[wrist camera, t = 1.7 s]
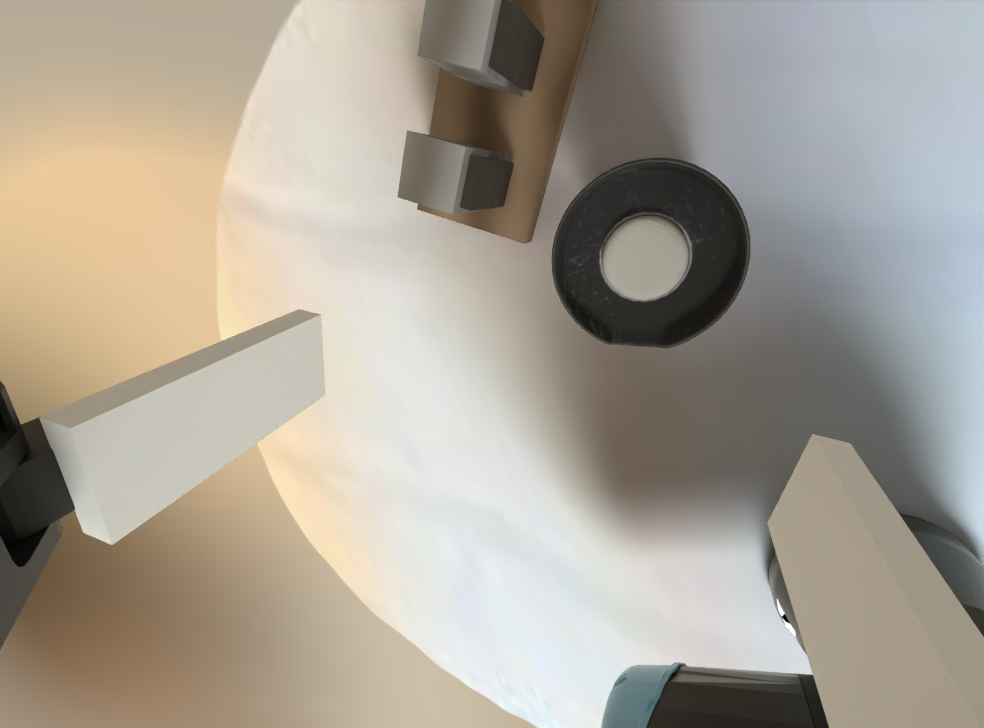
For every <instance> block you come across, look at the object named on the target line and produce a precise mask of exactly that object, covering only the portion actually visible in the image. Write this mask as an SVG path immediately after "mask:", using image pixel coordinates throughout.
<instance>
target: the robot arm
mask: <svg viewBox="0 0 984 728" xmlns="http://www.w3.org/2000/svg"><path fill="white" fill-rule="evenodd" d="M324 395H325V379H324V362H323V344H322V327H321V315H320V314H316V313H312V312H308V311H304V310H300V309H299V310H296V311H294V312H291V313H289V314H286V315H284V316H282V317H279V318H277V319H274V320H272V321H269V322H267V323H265V324H262V325H260V326H257V327H255V328H253V329H250V330H248V331H245V332H243V333H240V334H238V335H236V336H233V337H231V338H228V339H226V340H223V341H221V342H219V343H216V344H214V345H212V346H209V347H206V348H204V349H202V350H199V351H197V352H195V353H192V354H190V355H188V356H185V357H182V358H180V359H177V360H175V361H173V362H170V363H168V364H165V365H163V366H161V367H158V368H156V369H153V370H151V371H148V372H146V373H143V374H141V375H139V376H136V377H134V378H131V379H129V380H127V381H124V382H122V383H119V384H117V385H114V386H112V387H110V388H107V389H105V390H102V391H100V392H97V393H95V394H93V395H90V396H88V397H85V398H83V399H81V400H78V401H76V402H73V403H71V404H68V405H66V406H64V407H61V408H59V409H56V410H54V411H51V412H49V413H47V414H44V415H42V416H39V418H37V419H34V420H32V421H29V422H27V423H24V424H22V425H20V422H19V420H18V417H17V415H16V412H15V410H14V408H13V405H12V403H11V401H10V398H9V396H8V393H7V391H6V388H5V386H4V385H3V384H2V383H1V381H0V649H1V647H2V645H3V643H4V641H5V640H6V638H7V636H8V634H9V632H10V630H11V628H12V627H13V624H14V623H15V621H16V619H17V617H18V615H19V613H20V612H21V610H22V608H23V606H24V604H25V602H26V600H27V599H28V597H29V595H30V593H31V591H32V589H33V587H34V585H35V584H36V582H37V580H38V578H39V576H40V574H41V572H42V571H43V569H44V567H45V565H46V563H47V561H48V559H49V557H50V556H51V554H52V552H53V550H54V548H55V546H56V544H57V543H58V541H59V539H60V537H61V534H62V529H63V527H62V524H61V522H60V520H59V519H60V518H62V517H63V516H65V515H67V514H68V513H70V512H72V511H73V510H75V512H76V515H77V517H78V520H79V522H80V525H81V527H82V530H83V532H84V533H86V534H88V535H90V536H92V537H95V538H97V539H99V540H102V541H104V542H106V543H108V544H111V545H113V544H114V543H116V542H117V541H118V540H120V539H121V538H123V537H124V536H125V535H127V534H128V533H130V532H131V531H133V530H134V529H135V528H137V527H138V526H140V525H141V524H143V523H144V522H145V521H147V520H148V519H150V518H151V517H152V516H154V515H155V514H157V513H158V512H159V511H161V510H162V509H164V508H165V507H167V506H168V505H170V504H171V503H172V502H174V501H175V500H177V499H178V498H179V497H181V496H182V495H184V494H185V493H187V492H188V491H189V490H191V489H192V488H194V487H195V486H197V485H198V484H199V483H201V482H202V481H204V480H205V479H206V478H208V477H209V476H211V475H212V474H214V473H215V472H216V471H218V470H219V469H221V468H222V467H224V466H225V465H226V464H228V463H229V462H230V461H232V460H233V459H235V458H236V457H238V456H239V455H241V454H242V453H243V452H245V451H246V450H248V449H249V448H251V447H252V446H253V445H255V444H256V443H258V442H259V441H260V440H262V439H263V438H265V437H266V436H268V435H269V434H270V433H272V432H273V431H275V430H276V429H278V428H279V427H280V426H282V425H283V424H285V423H286V422H287V421H289V420H290V419H292V418H293V417H295V416H296V415H297V414H299V413H300V412H302V411H303V410H305V409H306V408H307V407H309V406H310V405H312V404H313V403H314V402H316V401H317V400H319V399H320V398H322V397H323V396H324ZM767 525H768V528H769V532H770V535H771V538H772V541H773V545H774V548H775V553H774V555H773V557H772V559H771V562H770V566H769V584H770V588H771V592H772V595H773V599H774V603H775V606H776V609H777V611H778V613H779V615H780V617H781V619H782V621H783V623H784V624H785V625H786V627H787V628H788V630H789V631H790V632H791V633H792V634H793V636H794V637H795V638H796V639H797V640H798V642H799V644H800V646H801V647H802V649H803V650H804V652H805V653H806V654H807V656H808V660H809V663H810V666H811V670H812V673H813V675H805V674H791V673H776V672H762V671H747V670H733V669H719V668H705V667H690V666H687V665H686V664H685V663H674V664H672V665H671V666H669V665H637V666H633V667H630V668H628V669H626V670H625V671H624V672H623V673H622V674H621V675H620V676H619V677H618V679H617V680H616V682H615V684H614V686H613V689H612V691H611V692H610V695H609V698H608V701H607V704H606V708H605V711H604V716H603V721H602V726H601V728H984V566H983V565H982V564H981V563H980V561H979V560H978V559H977V558H976V557H975V555H974V554H973V553H972V552H971V551H970V550H969V549H968V548H967V547H966V546H965V545H964V544H963V543H962V542H961V541H960V540H958V539H957V538H956V537H954V536H953V535H951V534H950V533H948V532H947V531H945V530H943V529H941V528H939V527H937V526H935V525H933V524H931V523H928V522H926V521H923V520H920V519H917V518H913V517H910V516H906V515H901V514H899V513H898V512H897V510H896V509H895V507H894V506H893V505H892V503H891V502H890V500H889V499H888V497H887V496H886V494H885V493H884V491H883V490H882V489H881V487H880V486H879V484H878V483H877V481H876V480H875V478H874V477H873V475H872V474H871V472H870V471H869V470H868V468H867V467H866V465H865V464H864V462H863V461H862V459H861V458H860V456H859V455H858V454H857V452H856V451H855V449H854V448H853V446H852V445H851V443H848V442H844V441H839V440H835V439H831V438H827V437H823V436H819V435H815V434H812V436H811V437H810V439H809V441H808V443H807V445H806V447H805V449H804V451H803V453H802V455H801V457H800V459H799V461H798V463H797V465H796V467H795V469H794V471H793V473H792V475H791V477H790V479H789V481H788V483H787V485H786V487H785V489H784V491H783V493H782V495H781V497H780V499H779V501H778V503H777V505H776V507H775V509H774V511H773V513H772V514H771V516H770V518H769V520H768V522H767Z"/></svg>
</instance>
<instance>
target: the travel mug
mask: <svg viewBox="0 0 984 728" xmlns="http://www.w3.org/2000/svg"><path fill="white" fill-rule="evenodd" d="M749 259H750V234H749V229H748V225H747V221H746V218H745V216H744V213H743V210H742V208H741V206H740V205H739V203H738V201H737V199H736V198H735V196H734V195H733V194H732V193H731V191H730V190H729V189H728V188H727V186H725V185H724V184H723V183H722V182H721V181H720V180H719V179H718V178H717V177H715V176H714V175H712V174H711V173H709V172H708V171H706V170H704V169H702V168H700V167H698V166H696V165H694V164H691V163H687V162H684V161H681V160H675V159H668V158H649V159H641V160H636V161H632V162H628V163H625V164H622V165H620V166H617V167H615V168H612V169H611V170H609V171H607V172H605V173H603V174H602V175H600V176H599V177H597V178H596V179H594V180H593V181H592V182H590V183H589V184H588V185H587V186H586V187H585V188H584V189H583V190H582V191H581V192H579V194H578V195H577V196H576V197H575V199H574V200H573V201H572V202H571V204H570V205H569V207H568V208H567V210H566V211H565V213H564V215H563V217H562V219H561V221H560V223H559V226H558V229H557V232H556V235H555V238H554V243H553V248H552V273H553V278H554V283H555V287H556V290H557V293H558V295H559V297H560V299H561V302H562V304H563V305H564V307H565V308H566V310H567V312H568V313H569V314H570V315H571V317H572V318H573V319H574V320H575V322H577V323H578V324H579V325H580V326H581V327H582V328H583V329H584V330H585V331H587V332H588V333H589V334H590V335H592V336H593V337H595V338H596V339H598V340H600V341H602V342H604V343H606V344H610V345H613V344H619V345H631V346H648V347H660V348H671V347H674V346H677V345H680V344H682V343H684V342H687V341H688V340H690V339H692V338H694V337H696V336H698V335H699V334H701V333H702V332H704V331H705V330H707V329H708V328H709V327H711V326H712V325H713V324H714V323H715V322H716V321H718V320H719V319H720V318H721V316H722V315H723V314H724V313H725V312H726V311H727V310H728V309H729V307H730V306H731V304H732V303H733V302H734V300H735V299H736V297H737V295H738V293H739V291H740V289H741V287H742V285H743V282H744V280H745V277H746V274H747V269H748V265H749Z"/></svg>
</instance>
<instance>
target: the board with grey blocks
mask: <svg viewBox="0 0 984 728" xmlns="http://www.w3.org/2000/svg"><path fill="white" fill-rule="evenodd" d="M597 2H598V0H426V4H425V11H424V18H423V25H422V32H421V38H420V45H419V52H418V56H420V57H422V58H424V59H426V60H428V61H429V62H431V63H433V64H435V65H437V66H439V67H441V68H440V74H439V80H438V87H437V93H436V99H435V105H434V111H433V117H432V123H431V129H430V135H425V134H421V133H416V132H411V131H407V136H406V142H405V149H404V156H403V163H402V170H401V177H400V184H399V191H398V197H399V198H402V199H405V200H408V201H412V202H415V203H418V208H417V209H418V210H421V211H424V212H427V213H430V214H434V215H437V216H440V217H443V218H446V219H449V220H452V221H456V222H459V223H462V224H465V225H468V226H471V227H474V228H478V229H481V230H484V231H487V232H490V233H493V234H496V235H500V236H503V237H506V238H509V239H512V240H515V241H518V242H522V243H528V242H530V241H531V240H532V236H533V233H534V229H535V226H536V222H537V218H538V215H539V211H540V208H541V204H542V200H543V197H544V193H545V190H546V186H547V182H548V179H549V175H550V172H551V168H552V164H553V161H554V157H555V154H556V150H557V146H558V143H559V139H560V136H561V132H562V128H563V125H564V121H565V118H566V114H567V110H568V107H569V103H570V100H571V96H572V92H573V89H574V85H575V82H576V78H577V74H578V71H579V67H580V64H581V60H582V56H583V53H584V49H585V46H586V42H587V38H588V35H589V31H590V28H591V24H592V20H593V17H594V13H595V10H596V6H597Z"/></svg>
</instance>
